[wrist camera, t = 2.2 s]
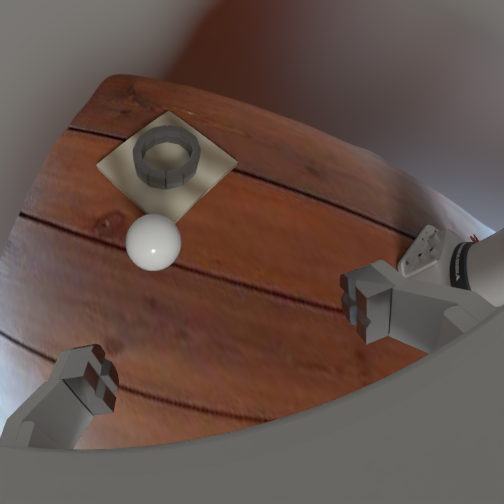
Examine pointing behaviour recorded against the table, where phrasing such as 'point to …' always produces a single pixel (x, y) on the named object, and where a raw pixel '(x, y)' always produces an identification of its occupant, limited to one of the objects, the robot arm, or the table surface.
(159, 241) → the lightbulb
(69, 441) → the robot arm
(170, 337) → the table surface
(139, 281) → the table surface
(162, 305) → the table surface
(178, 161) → the jig
